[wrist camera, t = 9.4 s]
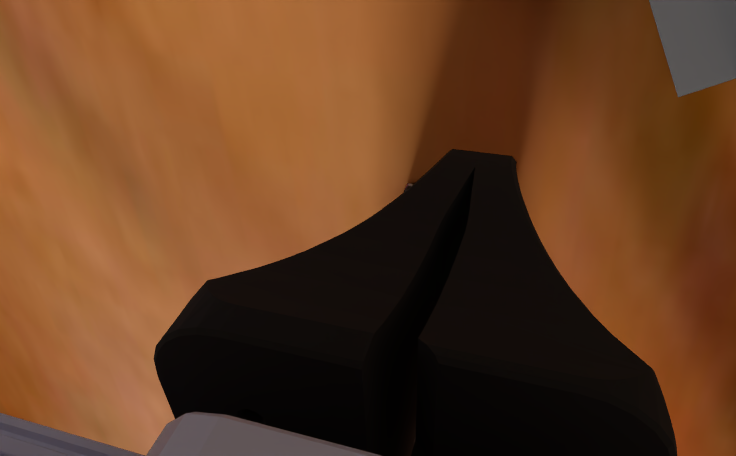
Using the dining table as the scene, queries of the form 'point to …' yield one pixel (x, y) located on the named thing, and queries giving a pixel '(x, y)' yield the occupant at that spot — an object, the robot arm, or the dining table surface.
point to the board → (697, 41)
